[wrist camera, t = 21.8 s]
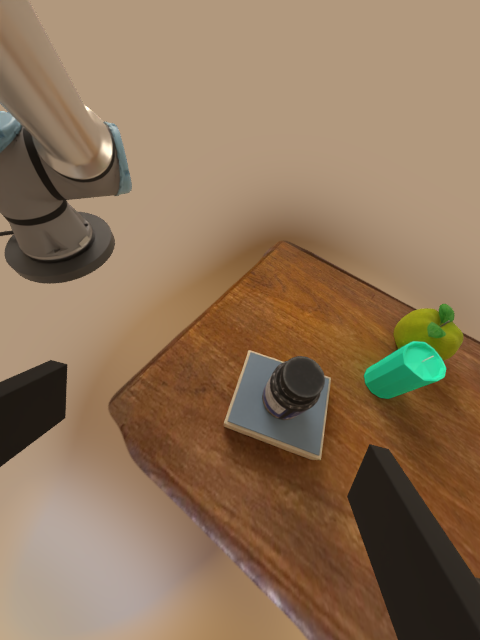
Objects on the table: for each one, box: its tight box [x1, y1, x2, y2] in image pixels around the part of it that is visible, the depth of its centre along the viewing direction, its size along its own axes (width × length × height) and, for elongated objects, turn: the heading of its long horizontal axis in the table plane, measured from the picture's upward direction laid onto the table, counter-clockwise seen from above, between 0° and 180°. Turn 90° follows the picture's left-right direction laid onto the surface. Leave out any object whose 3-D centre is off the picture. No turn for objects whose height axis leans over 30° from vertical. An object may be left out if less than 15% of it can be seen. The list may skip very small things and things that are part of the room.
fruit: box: [394, 304, 463, 360], centre depth 41 cm, size 9×9×10 cm
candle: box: [364, 341, 446, 399], centre depth 36 cm, size 6×6×12 cm
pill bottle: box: [262, 356, 325, 420], centre depth 30 cm, size 6×6×11 cm
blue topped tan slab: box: [224, 350, 331, 460], centre depth 36 cm, size 14×12×4 cm
